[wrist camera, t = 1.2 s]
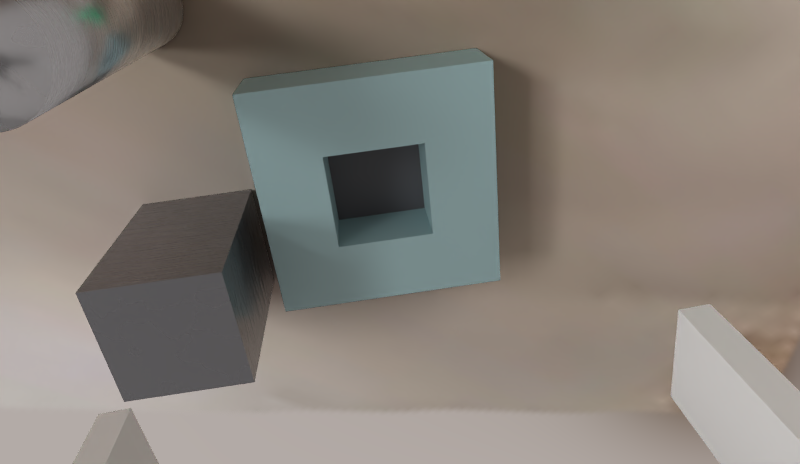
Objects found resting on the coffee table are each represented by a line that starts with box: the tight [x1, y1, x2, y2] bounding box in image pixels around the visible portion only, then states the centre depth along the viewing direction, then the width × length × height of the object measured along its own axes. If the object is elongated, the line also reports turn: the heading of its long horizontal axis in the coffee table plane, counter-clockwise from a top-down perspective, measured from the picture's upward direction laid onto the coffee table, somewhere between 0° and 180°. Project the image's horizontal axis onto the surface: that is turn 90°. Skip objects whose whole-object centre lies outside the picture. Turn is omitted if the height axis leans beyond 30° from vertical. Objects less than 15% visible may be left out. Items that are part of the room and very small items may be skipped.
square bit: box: [76, 190, 274, 402], centre depth 29 cm, size 6×6×9 cm
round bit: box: [0, 0, 183, 132], centre depth 20 cm, size 4×4×14 cm
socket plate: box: [232, 48, 500, 311], centre depth 30 cm, size 12×12×4 cm
